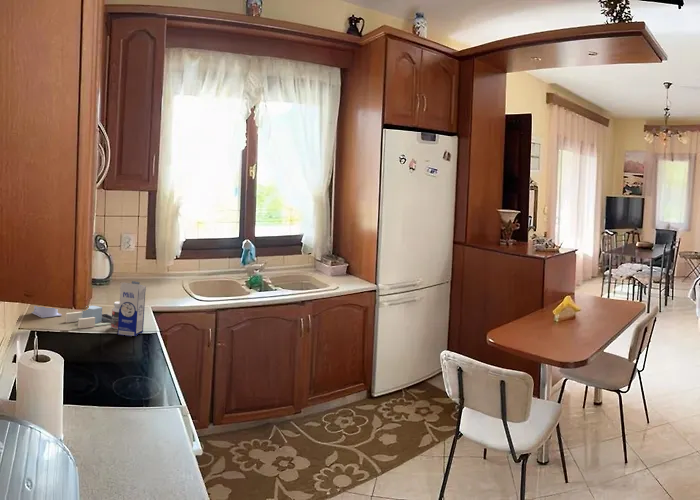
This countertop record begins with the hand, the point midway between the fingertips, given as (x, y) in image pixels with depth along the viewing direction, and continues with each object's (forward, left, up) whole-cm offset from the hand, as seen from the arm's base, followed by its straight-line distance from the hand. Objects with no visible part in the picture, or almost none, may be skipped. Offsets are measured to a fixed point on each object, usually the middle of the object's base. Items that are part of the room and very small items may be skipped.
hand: (64, 298), depth 222 cm
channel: (+3, +8, -10) cm, 13 cm away
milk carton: (+24, +14, -10) cm, 30 cm away
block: (+2, +10, -10) cm, 14 cm away
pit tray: (+3, +17, -10) cm, 19 cm away
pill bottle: (+14, +15, -10) cm, 23 cm away
